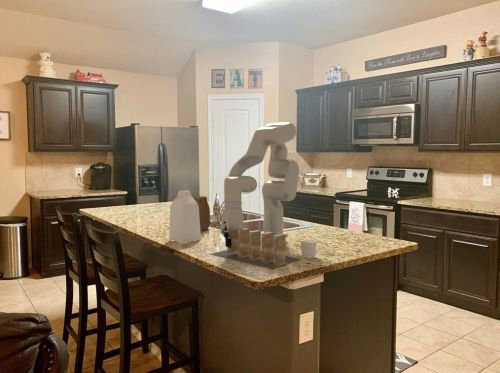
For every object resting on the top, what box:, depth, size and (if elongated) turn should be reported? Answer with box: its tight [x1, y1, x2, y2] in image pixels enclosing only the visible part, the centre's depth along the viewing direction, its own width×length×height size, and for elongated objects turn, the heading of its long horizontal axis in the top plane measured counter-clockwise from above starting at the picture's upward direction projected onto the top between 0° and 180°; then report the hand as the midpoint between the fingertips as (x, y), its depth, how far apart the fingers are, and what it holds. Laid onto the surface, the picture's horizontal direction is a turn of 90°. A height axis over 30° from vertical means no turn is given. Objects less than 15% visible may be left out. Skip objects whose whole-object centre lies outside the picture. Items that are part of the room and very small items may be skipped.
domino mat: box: [209, 249, 303, 270], centre depth 177 cm, size 20×36×1 cm, turn 48°
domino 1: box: [238, 227, 250, 258], centre depth 177 cm, size 2×5×12 cm, turn 138°
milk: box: [168, 190, 202, 244], centre depth 214 cm, size 12×12×26 cm
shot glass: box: [300, 240, 317, 259], centre depth 178 cm, size 7×7×7 cm
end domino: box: [226, 230, 238, 253], centre depth 181 cm, size 2×5×12 cm, turn 138°
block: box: [193, 195, 211, 232], centre depth 243 cm, size 11×8×20 cm
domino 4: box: [273, 233, 286, 267], centre depth 164 cm, size 2×5×12 cm, turn 138°
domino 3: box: [261, 232, 274, 263], centre depth 168 cm, size 2×5×12 cm, turn 138°
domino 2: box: [249, 229, 262, 261], centre depth 173 cm, size 2×5×12 cm, turn 138°
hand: (233, 245), depth 181 cm, fingers closed on end domino, 4 cm apart
